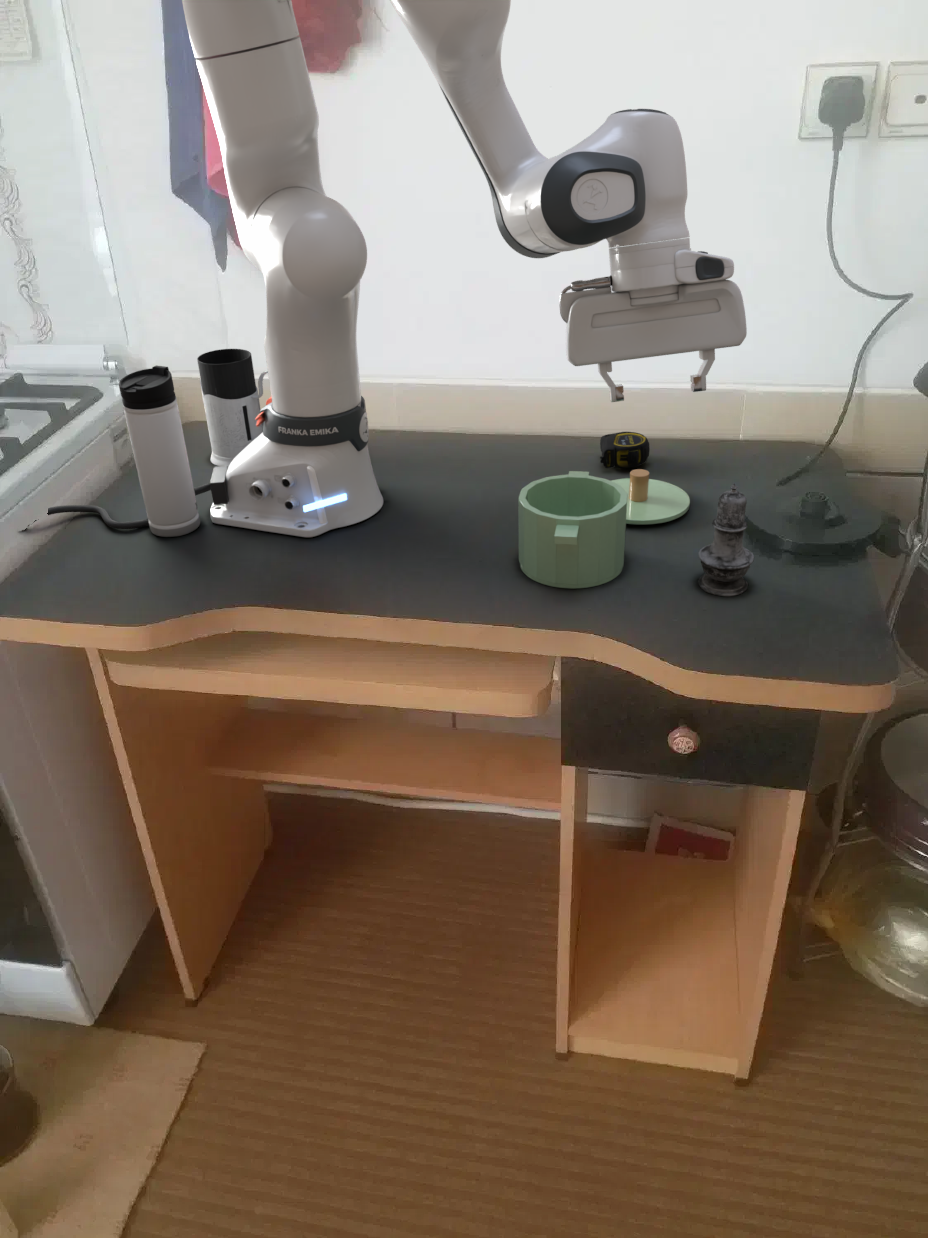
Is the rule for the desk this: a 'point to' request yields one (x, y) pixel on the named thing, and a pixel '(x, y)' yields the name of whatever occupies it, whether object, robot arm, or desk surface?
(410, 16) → the robot arm
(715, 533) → the salt shaker
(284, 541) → the desk surface
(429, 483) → the desk surface
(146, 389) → the travel mug
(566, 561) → the pot
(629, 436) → the tape measure
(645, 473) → the pot lid
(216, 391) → the tall handled mug
